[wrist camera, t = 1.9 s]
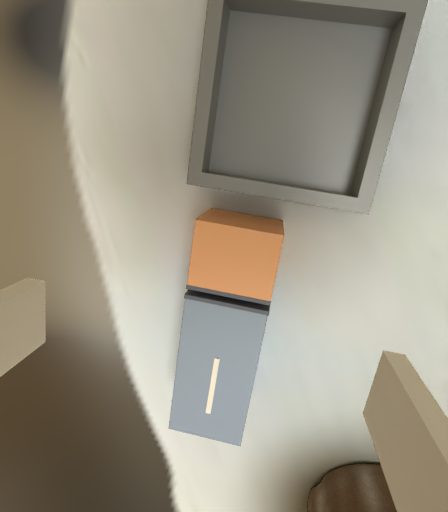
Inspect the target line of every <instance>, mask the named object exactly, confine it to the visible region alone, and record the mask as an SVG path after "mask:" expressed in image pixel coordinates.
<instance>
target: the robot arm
mask: <svg viewBox="0 0 448 512" xmlns="http://www.w3.org/2000/svg"><path fill="white" fill-rule="evenodd" d="M44 342H45V281H41V280H36V279H31V278H26V279H24V280H21V281H19V282H17V283H15V284H13V285H11V286H8V287H6V288H4V289H2V290H0V377H1V376H2V375H3V374H4V373H6V372H7V371H8V370H10V369H11V368H12V367H14V366H15V365H16V364H17V363H19V362H20V361H21V360H23V359H24V358H25V357H26V356H28V355H29V354H30V353H32V352H33V351H34V350H35V349H37V348H38V347H39V346H41V345H42V344H43V343H44ZM363 415H364V418H365V421H366V424H367V426H368V429H369V432H370V435H371V438H372V441H373V444H374V447H375V450H376V452H377V455H378V458H379V461H380V464H381V467H382V470H383V473H384V476H385V478H386V481H387V484H388V487H389V490H390V493H391V496H392V499H393V502H394V505H395V507H396V510H397V512H448V418H447V417H446V415H445V414H444V412H443V411H442V409H441V408H440V406H439V405H438V403H437V402H436V400H435V399H434V397H433V396H432V394H431V393H430V391H429V390H428V388H427V387H426V385H425V384H424V382H423V381H422V379H421V378H420V376H419V375H418V373H417V372H416V370H415V369H414V367H413V366H412V364H411V363H410V361H409V360H408V358H407V357H406V355H403V354H398V353H393V352H388V351H383V352H382V356H381V359H380V362H379V365H378V368H377V371H376V374H375V377H374V380H373V383H372V386H371V390H370V393H369V396H368V399H367V402H366V405H365V408H364V411H363Z"/></svg>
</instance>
